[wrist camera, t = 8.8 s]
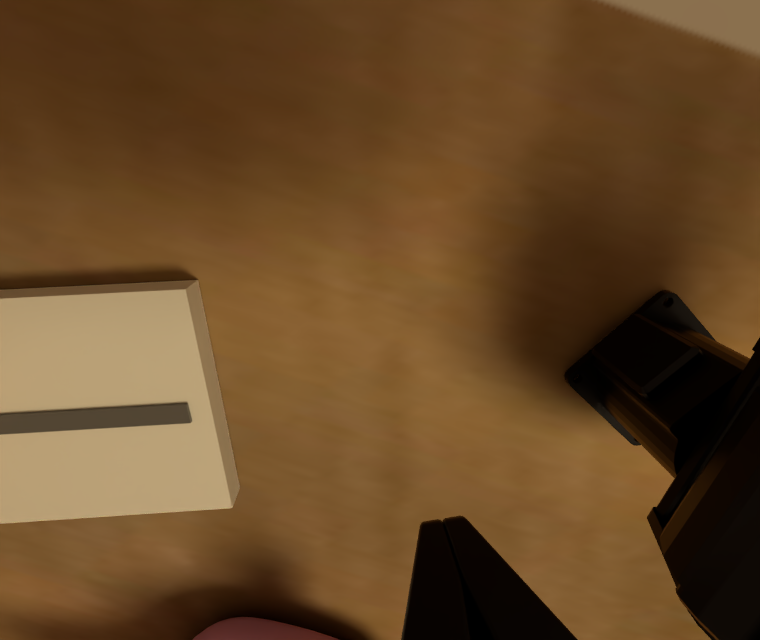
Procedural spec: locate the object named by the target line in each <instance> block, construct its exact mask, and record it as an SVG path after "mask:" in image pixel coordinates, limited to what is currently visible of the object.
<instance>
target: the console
mask: <svg viewBox="0 0 760 640" xmlns="http://www.w3.org/2000/svg"><path fill="white" fill-rule="evenodd" d="M239 488H240V485H239V480H238V475H237V470H236V466H235V461H234V456H233V451H232V446H231V441H230V436H229V431H228V426H227V421H226V416H225V411H224V406H223V401H222V396H221V391H220V386H219V381H218V376H217V371H216V366H215V361H214V356H213V351H212V346H211V341H210V336H209V331H208V326H207V321H206V316H205V312H204V307H203V302H202V297H201V292H200V287H199V282H198V280H184V281H164V282H144V283H124V284H104V285H84V286H65V287H45V288H25V289H5V290H0V524H1V523H16V522H31V521H46V520H61V519H76V518H91V517H106V516H121V515H136V514H151V513H166V512H181V511H196V510H211V509H226V508H233V505H234V502H235V499H236V497H237V494H238V491H239Z"/></svg>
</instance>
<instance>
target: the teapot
mask: <svg viewBox="0 0 760 640" xmlns="http://www.w3.org/2000/svg"><path fill="white" fill-rule="evenodd" d="M192 640H339V639H336V638H334V637H331V636H328V635H325V634H322V633H319V632H316V631H312V630H309V629H305V628H302V627H298V626H294V625H290V624H285V623H281V622H277V621H273V620H267V619H261V618H255V617H235V618H229V619H226V620H222V621H219V622H217V623H215V624H213V625H211V626H209V627H208V628H206V629H205V630H204V631H202V632H201V633H199V634H198V635H197V636H196V637H195V638H194V639H192Z"/></svg>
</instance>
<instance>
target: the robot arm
mask: <svg viewBox="0 0 760 640" xmlns="http://www.w3.org/2000/svg"><path fill="white" fill-rule="evenodd" d="M666 298H668V301H667V302H666V303H665V304H663V302H664V300H665V299H666ZM752 350H753V351H755V352H754V354H753V355H752V357H751V358H748V357H746V356H744V355H742V354H740V353H738V352H736V351H734V350H732V349H730V348H728V347H726V346H724V345H722V344H720V343H718V342H716V340H715V339H714V338H713V337H712V336H711V334H710V333H709V332H708V331H707V330H706V329H705V327H704V326H703V325H702V324H701V323H700V321H699V320H698V319H697V318H696V317H695V316H694V314H693V313H692V312H691V311H690V310H689V308H688V307H687V306H686V305H685V304H684V303H683V301H682V300H681V299H680V298H679V297H678V295H676V294H675V293H673V292H671V291H668V290H663V291H660V292H658V293H657V294H656V295H655V296H653V297H652V298H651V299H650V300H649V301H648V302H646V303H645V304H644V305H643V306H642V307H641V308H639V309H638V310H637V311H636V312H635V313H634V314H632V315H631V316H630V317H629V318H628V319H626V320H625V321H624V322H623V323H622V324H621V325H619V326H618V327H617V328H616V329H615V330H614V331H612V332H611V333H610V334H609V335H608V336H607V337H605V338H604V339H603V340H602V341H601V342H600V343H598V344H597V345H596V346H595V347H594V348H593V349H591V350H590V351H589V352H588V353H587V354H586V355H584V356H583V357H582V358H581V359H580V360H579V361H577V362H576V363H575V364H574V365H573V366H572V367H570V368H569V369H568V370H567V371H566V373H565V376H564V377H565V380H566V382H567V383H568V384H569V385H570V386H571V387H572V388H573V389H574V390H575V391H576V392H577V393H578V394H579V395H580V396H581V397H583V398H584V399H585V400H586V401H587V402H588V403H589V404H590V405H591V406H592V407H593V408H594V409H595V410H596V411H597V412H598V413H599V414H600V415H601V416H603V417H604V418H605V419H606V420H607V421H608V422H609V423H610V424H611V425H612V426H613V427H614V428H615V429H616V430H617V431H618V432H619V433H620V434H621V435H623V436H624V437H625V438H626V439H627V440H628V441H629V442H630V443H631V444H633V445H642V446H643V447H644V448H645V449H646V450H647V451H648V452H649V453H650V454H651V455H652V456H653V457H654V458H655V459H656V460H657V461H658V462H659V463H660V464H661V465H662V466H663V467H664V468H665V469H666V470H667V471H668V472H669V473H670V474H671V475H672V476H673V477H674V478H675V479H674V480H673V482H672V484H671V485H670V487H669V488H668V490H667V491H666V493H665V495H664V496H663V498H662V499H661V501H660V503H659V504H658V506H657V507H653V508H652V510H651V511H650V513H649V515H648V516H647V519H648V522H649V524H650V526H651V529H652V531H653V533H654V536H655V538H656V540H657V543H658V545H659V547H660V550H661V552H662V554H663V557H664V559H665V561H666V564H667V566H668V568H669V571H670V573H671V575H672V578H673V580H674V582H675V585H676V587H677V588H676V593H677V595H678V597H679V599H680V601H681V602H682V603H683V605H684V606H685V607H686V608H687V610H688V612H689V613H690V614H691V616H692V617H693V619H694V620H695V622H696V623H697V624H698V626H699V627H700V628H701V629H702V630H703V631H704V632H705V633H706V634H707V635H708V636H709V637H710V638H711V640H760V338H759V339H758V341H757V343H756V344H755V346H754V347H753V349H752ZM576 375H579V376H578V378H576V379H575V380H573V378H574V376H576ZM401 640H577V639H576V637H575V636H574V635H573V634H572V633H571V632H570V631H569V630H568V629H567V628H566V627H565V625H564V624H563V623H562V622H561V621H560V620H559V619H558V618H557V617H556V616H555V615H554V614H553V612H552V611H551V610H550V609H549V608H548V607H547V606H546V605H545V604H544V603H543V602H542V600H541V599H540V598H539V597H538V596H537V595H536V594H535V593H534V592H533V591H532V590H531V589H530V587H529V586H528V585H527V584H526V583H525V582H524V581H523V580H522V579H521V578H520V577H519V575H518V574H517V573H516V572H515V571H514V570H513V569H512V568H511V567H510V566H509V565H508V564H507V562H506V561H505V560H504V559H503V558H502V557H501V556H500V555H499V554H498V553H497V552H496V550H495V549H494V548H493V547H492V546H491V545H490V544H489V543H488V542H487V541H486V540H485V539H484V537H483V536H482V535H481V534H480V533H479V532H478V531H477V530H476V529H475V528H474V527H473V525H472V524H471V523H470V522H469V521H468V520H467V519H466V518H465V517H463V516H456V517H449V518H445V519H444V520H443V522H442V521H441V520H439V519H437V520H431V521H425V522H422V523H421V525H420V529H419V535H418V541H417V547H416V553H415V559H414V566H413V572H412V578H411V584H410V590H409V596H408V602H407V608H406V614H405V620H404V626H403V632H402V638H401Z"/></svg>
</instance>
